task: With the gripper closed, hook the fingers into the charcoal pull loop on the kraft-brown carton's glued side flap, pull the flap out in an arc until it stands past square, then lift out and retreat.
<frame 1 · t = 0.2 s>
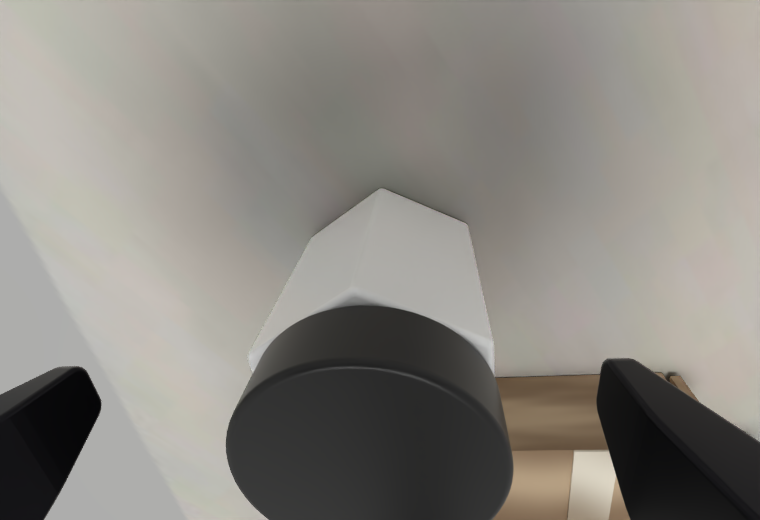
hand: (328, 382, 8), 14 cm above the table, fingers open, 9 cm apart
carton: (560, 444, 28), on the table
jar: (393, 267, 23), on the table
flap: (721, 482, 24), point 3 cm above the table, hinge at 0.0°
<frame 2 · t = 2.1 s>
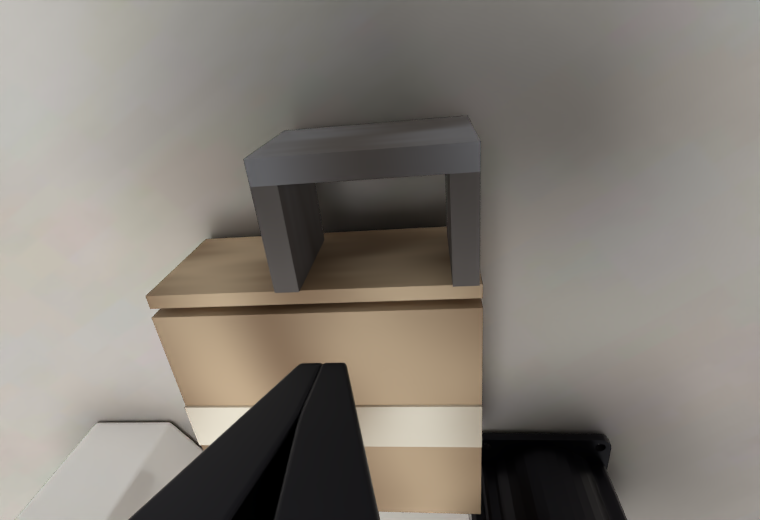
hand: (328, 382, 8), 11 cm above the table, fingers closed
carton: (351, 342, 21), on the table
jar: (158, 464, 27), on the table
flap: (312, 209, 15), point 3 cm above the table, hinge at 0.0°
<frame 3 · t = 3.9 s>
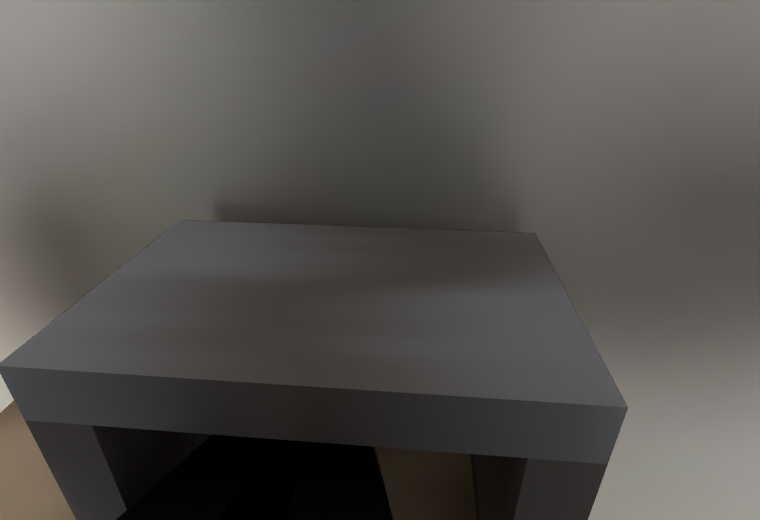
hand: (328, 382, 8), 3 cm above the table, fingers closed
flap: (217, 384, 8), point 3 cm above the table, hinge at 1.5°, touching gripper
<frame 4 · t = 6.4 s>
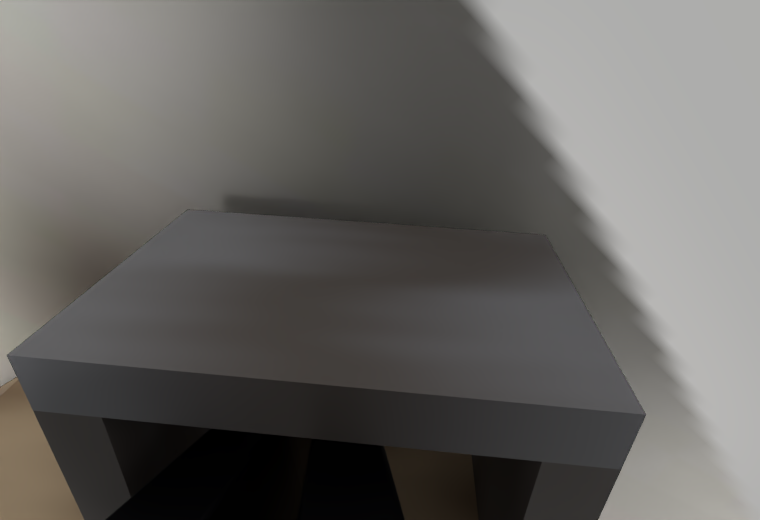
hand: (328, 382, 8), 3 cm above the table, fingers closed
flap: (222, 377, 8), point 3 cm above the table, hinge at 55.7°, touching gripper
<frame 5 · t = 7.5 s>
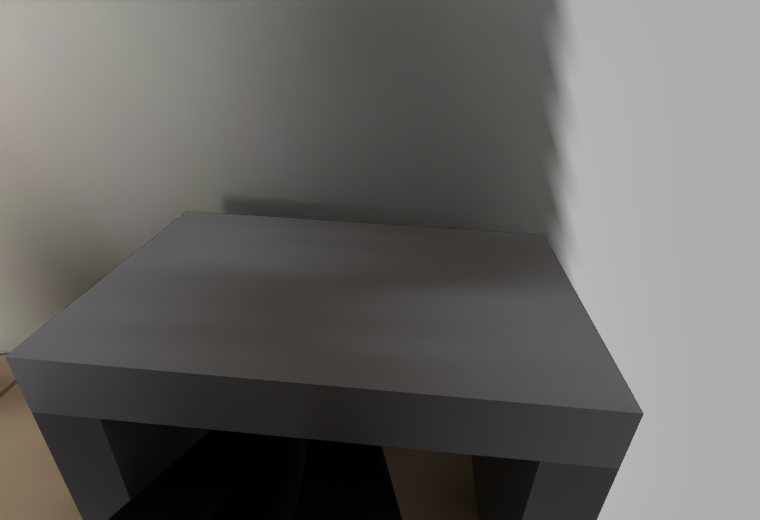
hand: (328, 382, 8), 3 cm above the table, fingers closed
flap: (221, 378, 8), point 3 cm above the table, hinge at 79.5°, touching gripper
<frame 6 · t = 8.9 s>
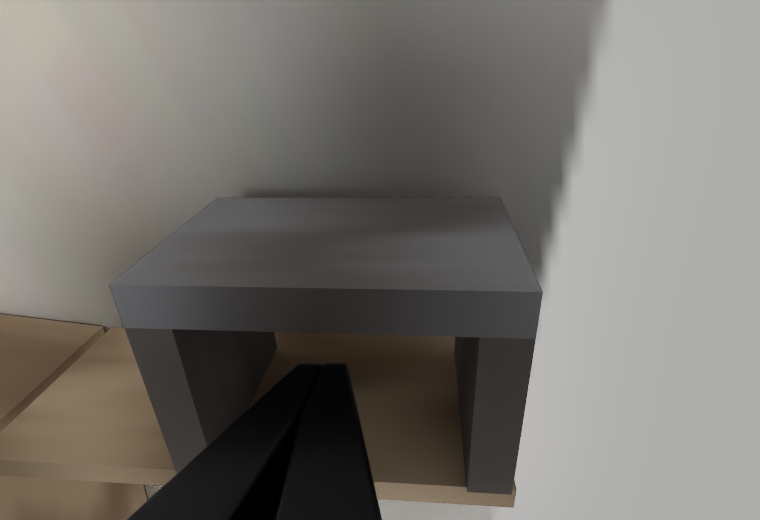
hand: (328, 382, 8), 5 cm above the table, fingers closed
carton: (3, 431, 16), on the table
flap: (251, 325, 10), point 3 cm above the table, hinge at 96.5°
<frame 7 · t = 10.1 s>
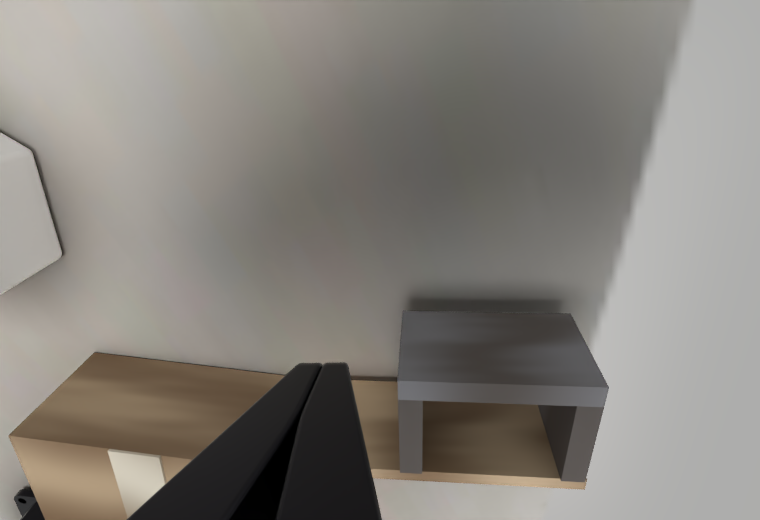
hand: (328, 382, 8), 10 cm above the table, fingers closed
carton: (207, 444, 24), on the table
flap: (427, 387, 17), point 3 cm above the table, hinge at 96.5°
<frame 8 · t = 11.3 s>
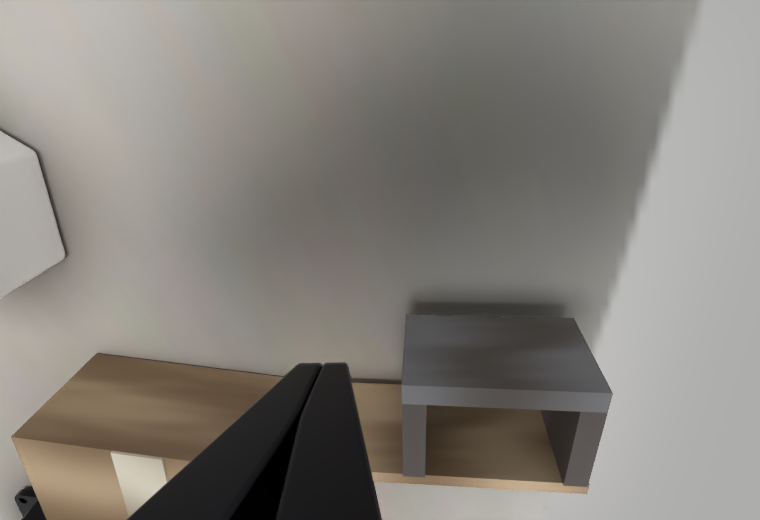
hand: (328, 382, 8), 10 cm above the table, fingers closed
carton: (208, 445, 24), on the table
flap: (430, 390, 17), point 3 cm above the table, hinge at 96.5°
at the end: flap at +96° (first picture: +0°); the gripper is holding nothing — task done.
